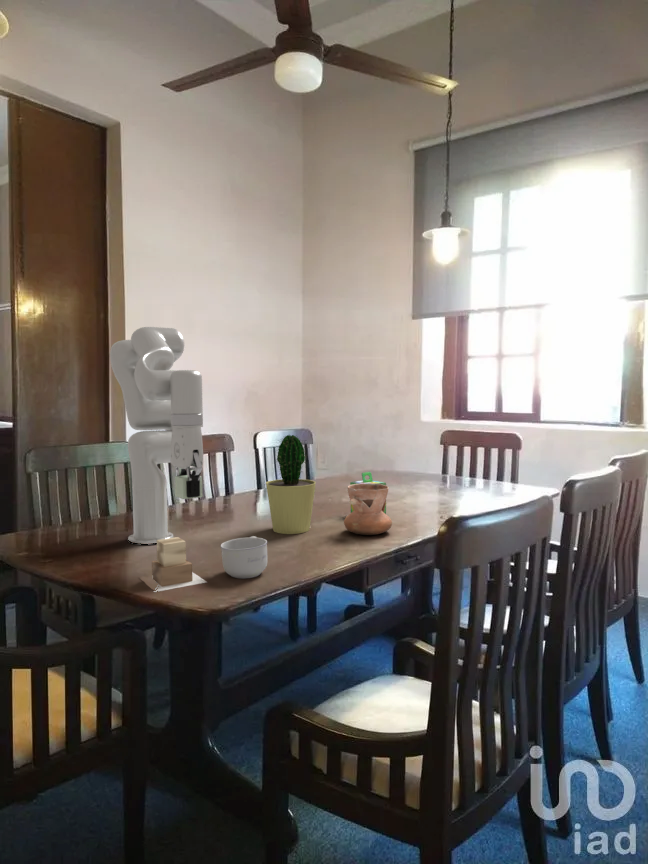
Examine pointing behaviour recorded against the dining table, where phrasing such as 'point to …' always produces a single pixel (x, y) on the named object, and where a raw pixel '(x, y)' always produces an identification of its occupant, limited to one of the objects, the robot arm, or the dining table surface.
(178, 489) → the sage block
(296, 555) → the dining table surface
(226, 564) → the teacup
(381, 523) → the ceramic jug
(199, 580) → the white mat
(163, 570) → the walnut base brick
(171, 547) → the maple block
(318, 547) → the dining table surface
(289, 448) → the potted cactus
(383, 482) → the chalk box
